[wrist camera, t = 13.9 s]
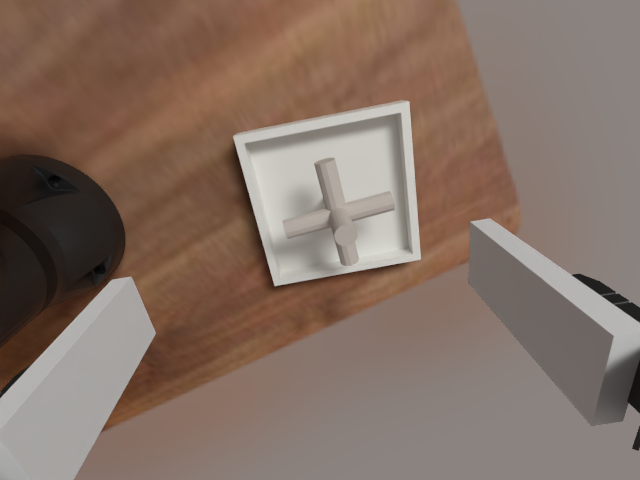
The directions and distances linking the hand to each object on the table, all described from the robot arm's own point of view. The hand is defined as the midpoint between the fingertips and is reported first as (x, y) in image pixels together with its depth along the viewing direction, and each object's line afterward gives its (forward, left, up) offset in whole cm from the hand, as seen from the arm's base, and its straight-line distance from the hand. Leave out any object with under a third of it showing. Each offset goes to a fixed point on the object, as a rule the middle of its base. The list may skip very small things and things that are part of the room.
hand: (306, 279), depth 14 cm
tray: (+2, -4, -24) cm, 24 cm away
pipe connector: (+2, -4, -23) cm, 24 cm away
